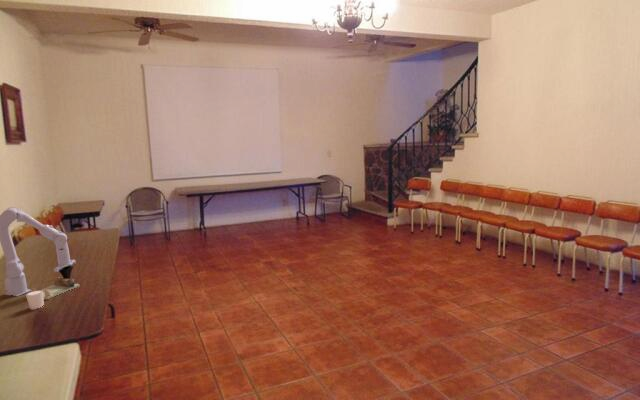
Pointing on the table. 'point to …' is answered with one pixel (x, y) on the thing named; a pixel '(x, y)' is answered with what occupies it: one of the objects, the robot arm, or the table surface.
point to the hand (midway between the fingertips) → (67, 280)
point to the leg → (64, 282)
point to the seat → (55, 290)
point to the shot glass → (35, 299)
